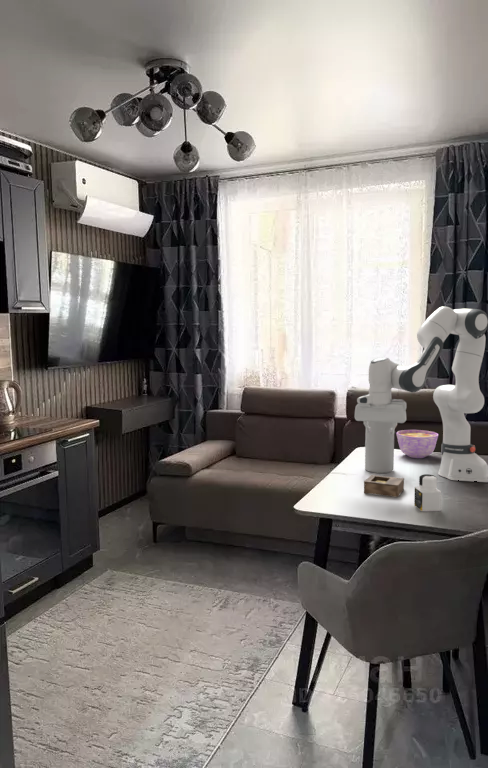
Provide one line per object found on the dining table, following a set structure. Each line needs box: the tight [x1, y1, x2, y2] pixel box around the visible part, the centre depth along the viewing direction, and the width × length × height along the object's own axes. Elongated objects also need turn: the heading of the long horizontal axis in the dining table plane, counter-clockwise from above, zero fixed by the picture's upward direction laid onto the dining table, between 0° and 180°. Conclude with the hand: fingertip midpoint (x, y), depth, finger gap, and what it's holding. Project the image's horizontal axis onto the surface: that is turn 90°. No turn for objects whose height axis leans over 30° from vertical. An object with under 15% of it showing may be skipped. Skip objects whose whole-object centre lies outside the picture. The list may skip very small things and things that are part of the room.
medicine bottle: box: [413, 474, 442, 513], centre depth 208 cm, size 7×7×12 cm
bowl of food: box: [395, 429, 439, 459], centre depth 289 cm, size 20×20×12 cm
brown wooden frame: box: [363, 474, 405, 498], centre depth 229 cm, size 13×11×5 cm
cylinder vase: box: [364, 421, 395, 474], centre depth 262 cm, size 12×12×25 cm
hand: (380, 432), depth 234 cm, fingers open, 8 cm apart
